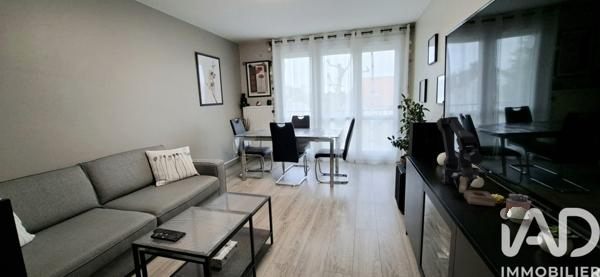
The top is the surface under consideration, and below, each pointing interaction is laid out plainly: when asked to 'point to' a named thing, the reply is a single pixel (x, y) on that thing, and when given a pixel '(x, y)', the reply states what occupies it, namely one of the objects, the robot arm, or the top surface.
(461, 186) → the pin
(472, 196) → the bore block
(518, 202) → the lighter
